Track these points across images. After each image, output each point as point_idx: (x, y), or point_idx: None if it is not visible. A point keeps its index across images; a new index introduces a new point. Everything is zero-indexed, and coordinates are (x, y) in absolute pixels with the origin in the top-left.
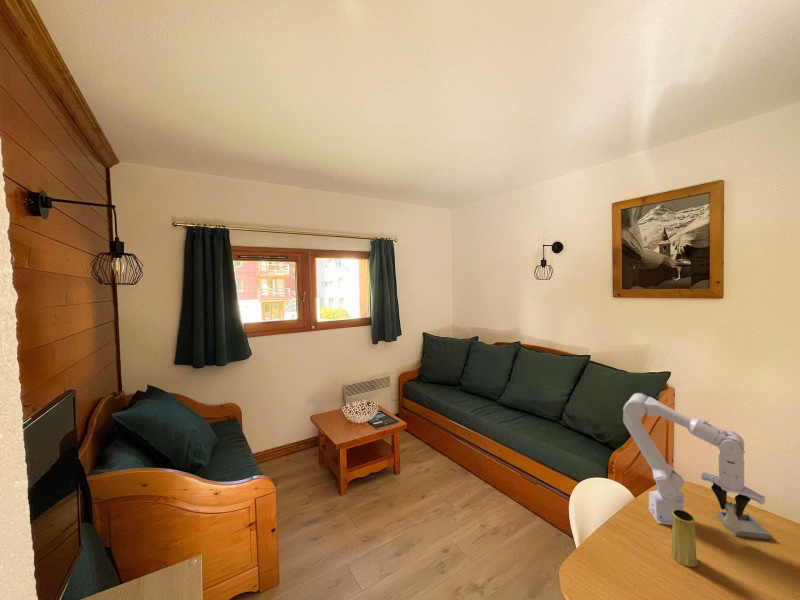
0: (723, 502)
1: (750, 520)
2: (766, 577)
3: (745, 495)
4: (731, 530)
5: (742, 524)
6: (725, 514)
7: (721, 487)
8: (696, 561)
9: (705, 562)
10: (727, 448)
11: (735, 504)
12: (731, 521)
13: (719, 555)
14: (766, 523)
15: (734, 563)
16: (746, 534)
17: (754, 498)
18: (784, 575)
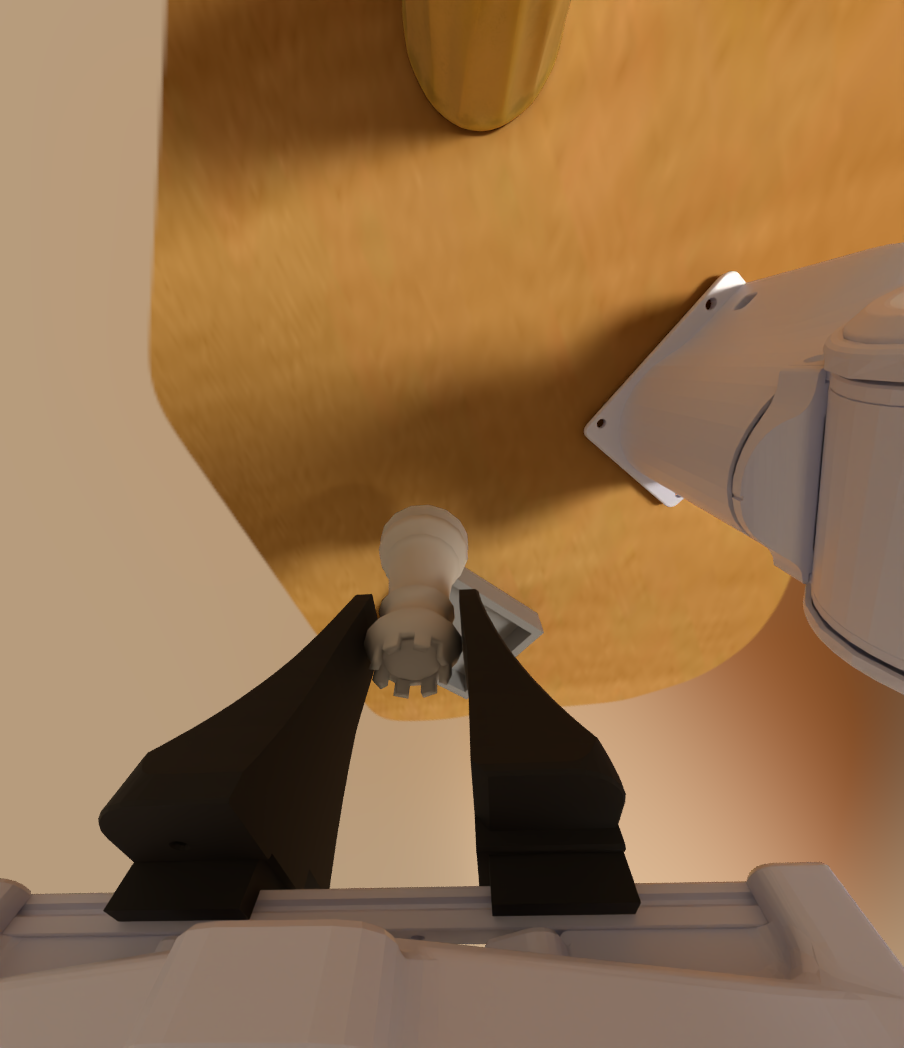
0: (464, 645)
1: (455, 674)
2: (238, 391)
3: (19, 988)
4: (406, 508)
5: (461, 636)
6: (517, 638)
7: (376, 1009)
8: (409, 36)
9: (401, 169)
10: None
11: (396, 690)
12: (407, 548)
13: (402, 338)
14: (429, 697)
15: (340, 348)
16: None
17: (48, 945)
18: (234, 478)
